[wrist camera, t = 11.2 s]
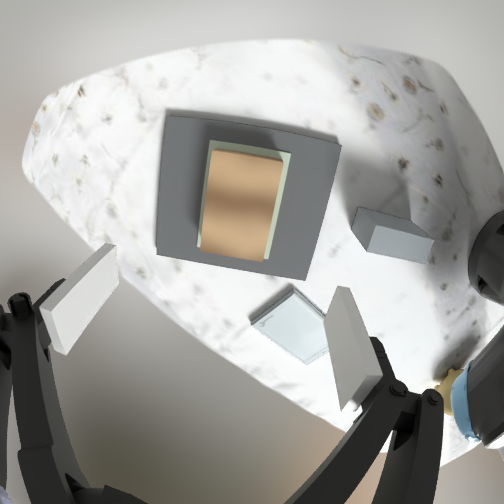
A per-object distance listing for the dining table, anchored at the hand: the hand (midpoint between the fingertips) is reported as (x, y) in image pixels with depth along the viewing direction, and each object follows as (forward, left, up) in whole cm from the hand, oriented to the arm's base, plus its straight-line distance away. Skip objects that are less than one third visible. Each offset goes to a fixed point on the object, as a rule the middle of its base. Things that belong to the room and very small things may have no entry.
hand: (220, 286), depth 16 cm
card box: (0, 0, -17) cm, 16 cm away
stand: (-17, -1, -18) cm, 25 cm away
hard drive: (-11, +17, -18) cm, 27 cm away
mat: (0, 0, -17) cm, 17 cm away
